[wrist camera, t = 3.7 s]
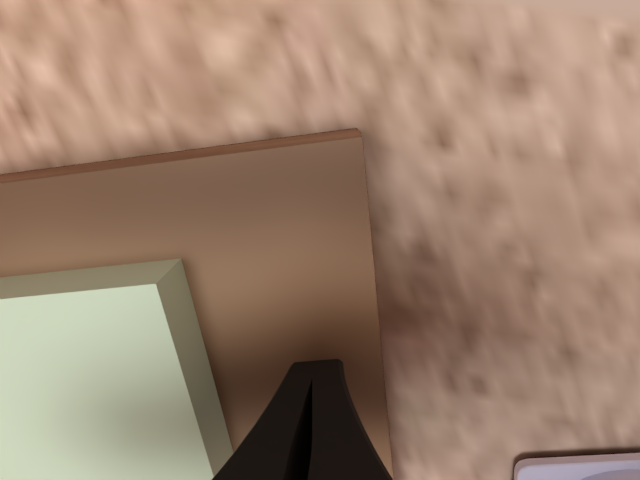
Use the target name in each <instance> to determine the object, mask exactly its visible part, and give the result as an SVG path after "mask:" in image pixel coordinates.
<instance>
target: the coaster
mask: <svg viewBox="0 0 640 480" xmlns="http://www.w3.org/2000/svg"><path fill="white" fill-rule="evenodd" d="M232 454H233V449H232V446H231V442H230V438H229V434H228V431H227V427H226V423H225V420H224V416H223V412H222V408H221V405H220V401H219V397H218V394H217V390H216V386H215V382H214V379H213V375H212V371H211V367H210V364H209V360H208V356H207V353H206V349H205V345H204V341H203V338H202V334H201V330H200V327H199V323H198V319H197V315H196V312H195V308H194V304H193V301H192V297H191V293H190V289H189V286H188V282H187V278H186V274H185V271H184V267H183V263H182V260H181V258H180V259H171V260H161V261H152V262H142V263H133V264H123V265H114V266H104V267H95V268H85V269H76V270H66V271H57V272H47V273H38V274H28V275H19V276H9V277H0V480H212V478H213V477H214V476H215V475H216V474H217V473H218V472H219V470H220V469H221V468H222V467H223V466H224V464H225V463H226V462H227V461H228V459H229V458H230V457H231V456H232Z"/></svg>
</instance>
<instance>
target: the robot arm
mask: <svg viewBox="0 0 640 480" xmlns="http://www.w3.org/2000/svg"><path fill="white" fill-rule="evenodd" d="M212 480H393V479H392V477H391V475H390V474H389V472H388V470H387V469H386V467H385V466H384V464H383V462H382V460H381V459H380V457H379V455H378V453H377V452H376V450H375V448H374V446H373V444H372V442H371V440H370V438H369V436H368V435H367V433H366V431H365V429H364V426H363V424H362V422H361V420H360V418H359V415H358V413H357V411H356V408H355V406H354V404H353V401H352V399H351V396H350V393H349V390H348V387H347V384H346V380H345V374H344V366H343V362H342V361H341V360H339V359H329V360H316V361H303V362H294V363H293V364H292V365H291V366H290V368H289V370H288V372H287V374H286V375H285V377H284V379H283V381H282V382H281V384H280V386H279V387H278V389H277V391H276V392H275V394H274V396H273V397H272V399H271V401H270V402H269V404H268V405H267V407H266V408H265V410H264V411H263V413H262V414H261V416H260V417H259V419H258V420H257V422H256V423H255V425H254V426H253V428H252V429H251V430H250V432H249V433H248V434H247V436H246V437H245V438H244V440H243V441H242V443H241V444H240V445H239V447H238V448H237V449H236V451H235V452H234V453H233V454H232V456H231V457H230V458H229V459H228V461H227V462H226V463H225V464H224V466H223V467H222V468H221V469H220V470H219V472H218V473H217V474H216V475H215V476H214V477H213V478H212ZM514 480H640V453H624V454H605V455H586V456H567V457H548V458H529V459H523V460H521V461H519V462H518V463H517V464H516V465H515V468H514Z"/></svg>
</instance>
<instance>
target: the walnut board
mask: <svg viewBox="0 0 640 480" xmlns="http://www.w3.org/2000/svg"><path fill="white" fill-rule="evenodd" d="M180 258H181V260H182V263H183V267H184V271H185V274H186V278H187V282H188V286H189V289H190V293H191V297H192V301H193V304H194V308H195V312H196V315H197V319H198V323H199V327H200V330H201V334H202V338H203V341H204V345H205V349H206V353H207V356H208V360H209V364H210V367H211V371H212V375H213V379H214V382H215V386H216V390H217V394H218V397H219V401H220V405H221V408H222V412H223V416H224V420H225V423H226V427H227V431H228V434H229V438H230V442H231V446H232V449H233V453H234V452H235V451H236V449H237V448H238V447H239V445H240V444H241V443H242V441H243V440H244V438H245V437H246V436H247V434H248V433H249V432H250V430H251V429H252V428H253V426H254V425H255V423H256V422H257V420H258V419H259V417H260V416H261V414H262V413H263V411H264V410H265V408H266V407H267V405H268V404H269V402H270V401H271V399H272V397H273V396H274V394H275V392H276V391H277V389H278V387H279V386H280V384H281V382H282V381H283V379H284V377H285V375H286V374H287V372H288V370H289V368H290V366H291V365H292V364H293V363H294V362H303V361H316V360H329V359H339V360H341V361H342V362H343V366H344V374H345V380H346V384H347V387H348V390H349V393H350V396H351V399H352V401H353V404H354V406H355V408H356V411H357V413H358V415H359V418H360V420H361V422H362V424H363V426H364V429H365V431H366V433H367V435H368V436H369V438H370V440H371V442H372V444H373V446H374V448H375V450H376V452H377V453H378V455H379V457H380V459H381V460H382V462H383V464H384V466H385V467H386V469H387V470H388V472H389V474H390V475H391V477H392V479H393V470H392V459H391V448H390V437H389V426H388V415H387V404H386V393H385V382H384V371H383V360H382V349H381V338H380V327H379V316H378V305H377V294H376V283H375V272H374V261H373V250H372V239H371V228H370V217H369V206H368V195H367V184H366V173H365V162H364V151H363V140H362V136H361V134H360V132H359V131H358V129H357V128H353V129H346V130H338V131H330V132H323V133H315V134H308V135H300V136H292V137H285V138H277V139H269V140H262V141H254V142H246V143H239V144H231V145H223V146H216V147H208V148H201V149H193V150H185V151H178V152H170V153H162V154H155V155H147V156H139V157H132V158H124V159H117V160H109V161H101V162H94V163H86V164H78V165H71V166H63V167H55V168H48V169H40V170H33V171H25V172H17V173H10V174H2V175H0V277H9V276H19V275H28V274H38V273H47V272H57V271H66V270H76V269H85V268H95V267H104V266H114V265H123V264H133V263H142V262H152V261H161V260H171V259H180Z"/></svg>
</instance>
